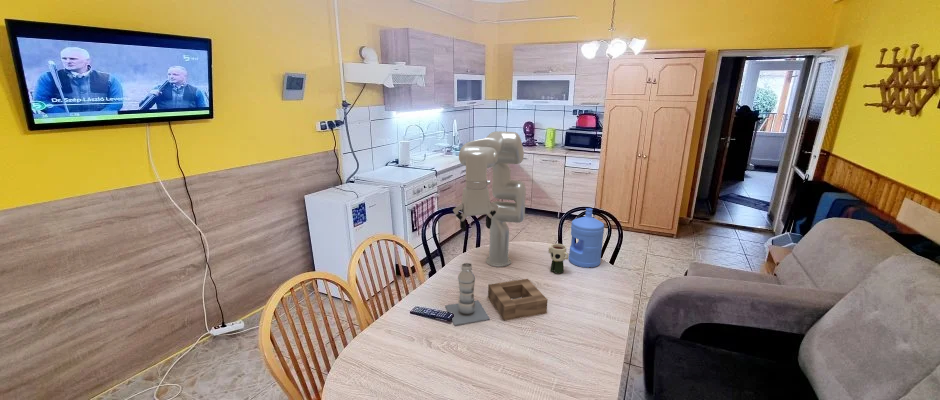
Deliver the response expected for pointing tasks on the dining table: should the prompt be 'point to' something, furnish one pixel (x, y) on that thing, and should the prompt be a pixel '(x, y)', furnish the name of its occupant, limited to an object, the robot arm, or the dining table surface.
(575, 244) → the water jug
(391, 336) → the dining table surface
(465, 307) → the plastic bottle
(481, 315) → the pad
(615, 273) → the dining table surface
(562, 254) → the character mug
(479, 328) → the dining table surface
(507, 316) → the bore block
